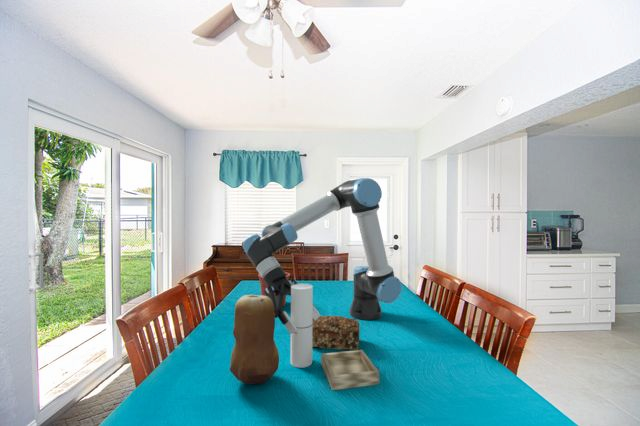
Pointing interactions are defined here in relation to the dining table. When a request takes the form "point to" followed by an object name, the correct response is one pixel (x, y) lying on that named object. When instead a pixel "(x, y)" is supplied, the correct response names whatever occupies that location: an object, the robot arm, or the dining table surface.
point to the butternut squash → (254, 340)
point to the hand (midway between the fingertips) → (306, 324)
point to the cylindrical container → (301, 324)
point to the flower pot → (264, 286)
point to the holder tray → (349, 369)
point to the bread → (335, 333)
